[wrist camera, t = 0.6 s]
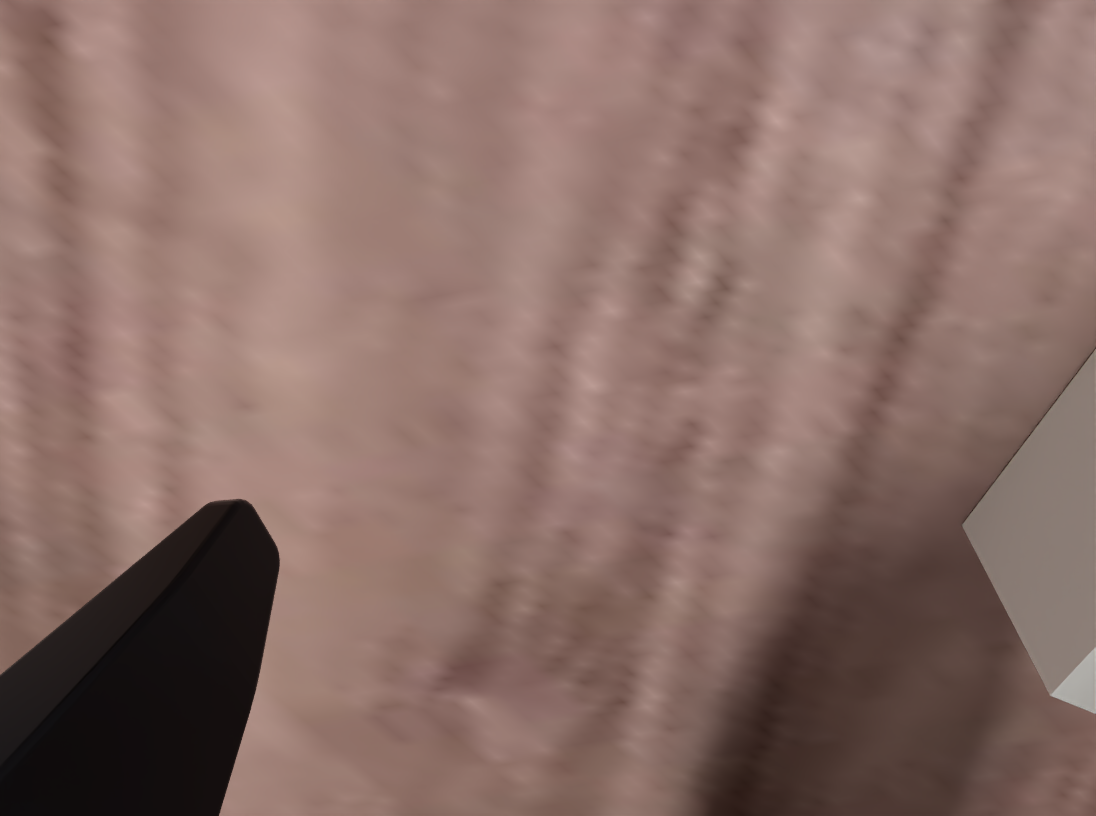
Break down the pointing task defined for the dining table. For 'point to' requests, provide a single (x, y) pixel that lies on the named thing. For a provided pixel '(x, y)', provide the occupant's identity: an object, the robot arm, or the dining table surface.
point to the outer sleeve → (1049, 542)
